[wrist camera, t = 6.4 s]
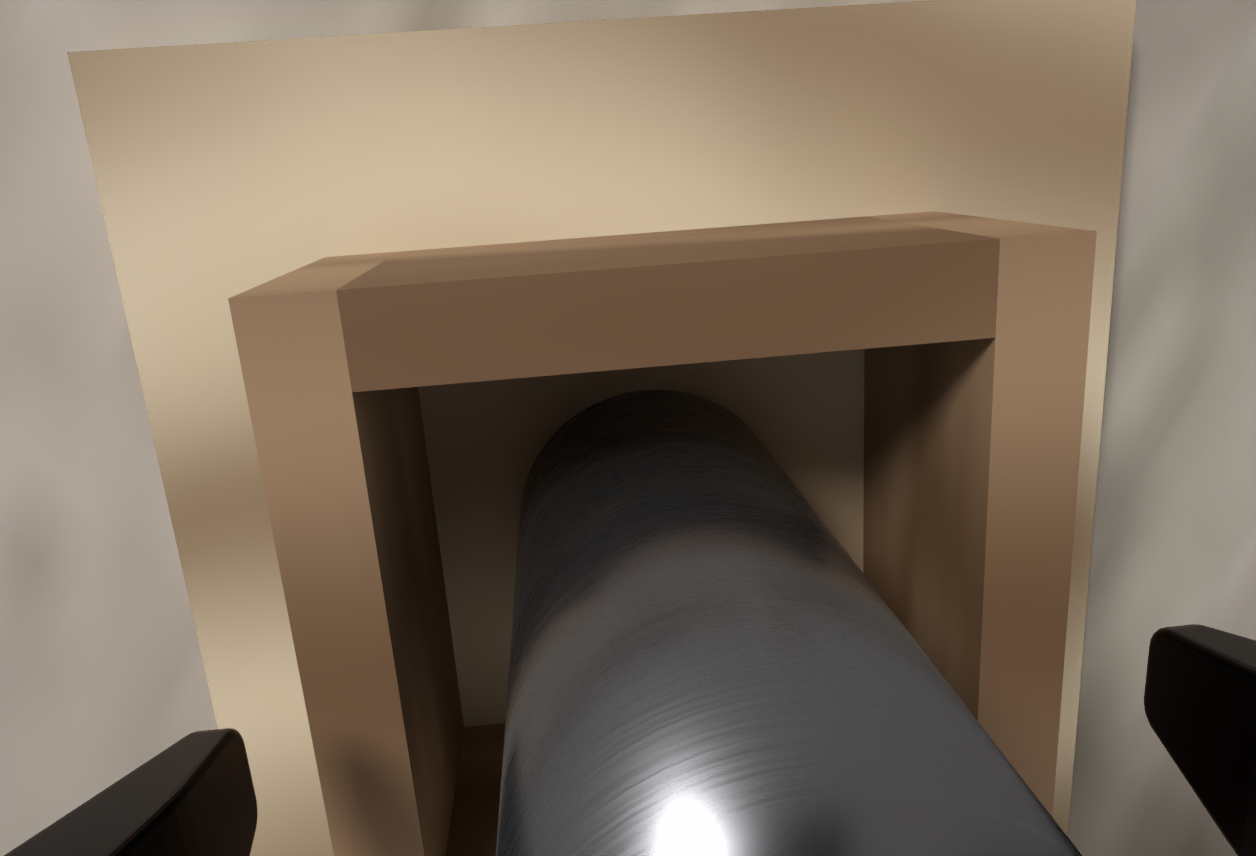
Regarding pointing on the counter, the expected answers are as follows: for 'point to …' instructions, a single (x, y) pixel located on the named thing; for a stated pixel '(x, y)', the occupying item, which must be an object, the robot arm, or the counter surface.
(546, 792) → the peg
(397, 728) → the well
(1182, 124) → the counter surface
